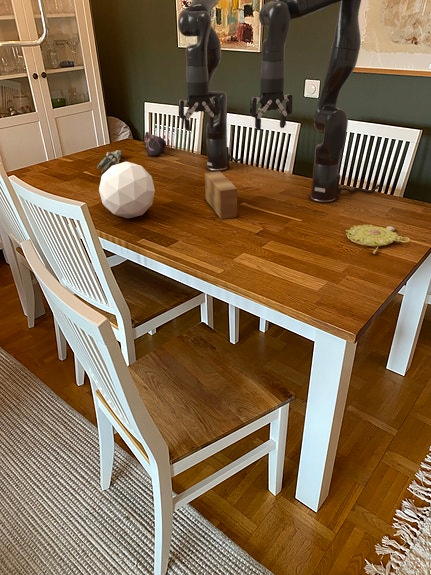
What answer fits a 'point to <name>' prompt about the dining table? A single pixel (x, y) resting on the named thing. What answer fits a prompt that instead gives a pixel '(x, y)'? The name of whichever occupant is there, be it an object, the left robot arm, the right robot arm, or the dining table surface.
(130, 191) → the sphere
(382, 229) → the decorative object
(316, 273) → the dining table surface
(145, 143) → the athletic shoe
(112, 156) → the figurine
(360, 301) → the dining table surface
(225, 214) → the box
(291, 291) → the dining table surface
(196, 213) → the dining table surface
